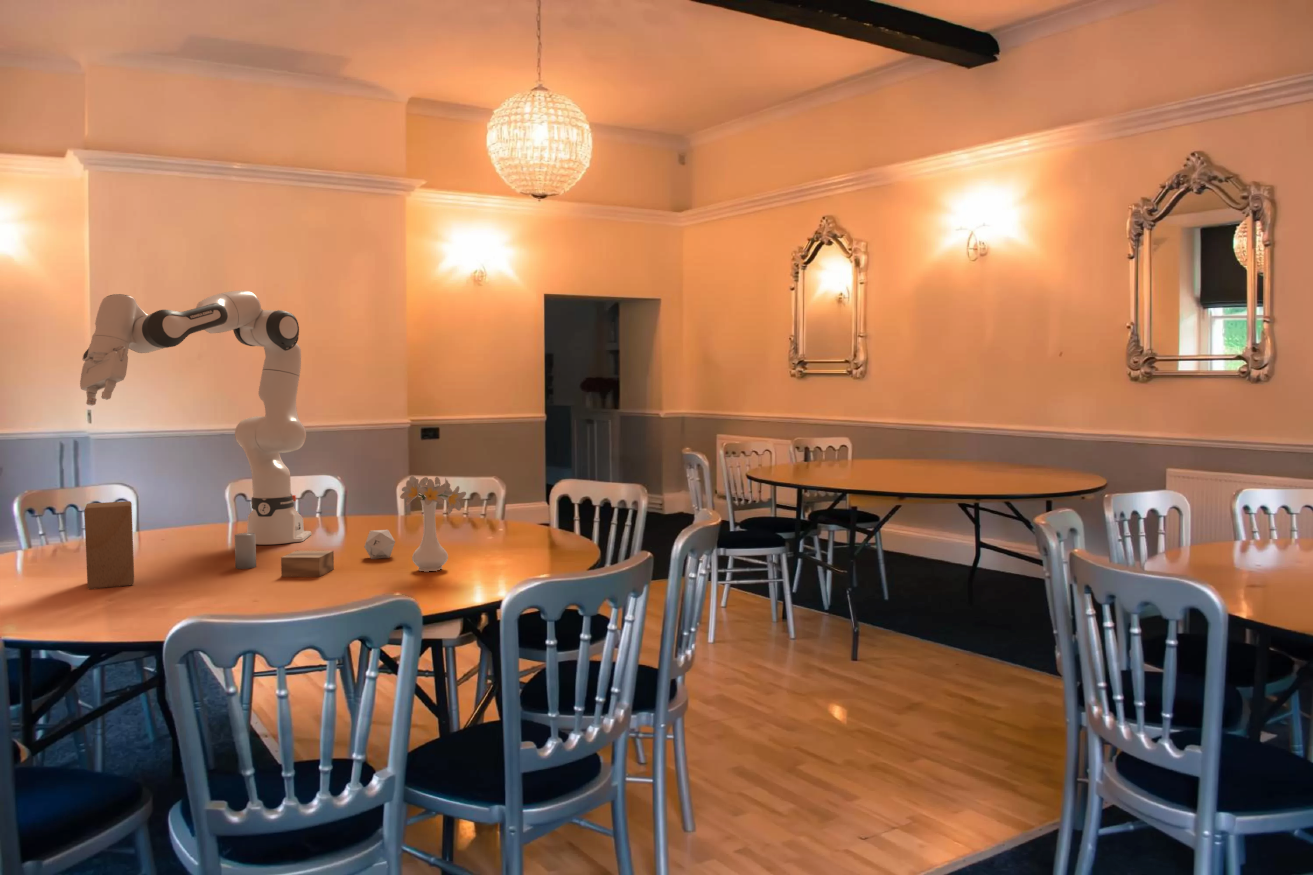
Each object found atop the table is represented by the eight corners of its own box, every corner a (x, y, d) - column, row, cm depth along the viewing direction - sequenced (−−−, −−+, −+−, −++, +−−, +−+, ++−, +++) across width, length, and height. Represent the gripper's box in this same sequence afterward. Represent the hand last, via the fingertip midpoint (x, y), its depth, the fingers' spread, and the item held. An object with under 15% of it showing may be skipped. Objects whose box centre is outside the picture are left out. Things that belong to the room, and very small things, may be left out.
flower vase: (452, 576, 254) (450, 480, 252) (389, 572, 259) (387, 478, 258) (475, 567, 266) (474, 475, 265) (415, 563, 272) (414, 473, 270)
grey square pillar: (240, 565, 270) (240, 532, 269) (259, 565, 270) (258, 532, 269) (232, 568, 265) (231, 535, 264) (251, 569, 264) (250, 535, 264)
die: (358, 559, 281) (359, 536, 275) (374, 541, 287) (375, 517, 281) (383, 570, 279) (385, 547, 274) (399, 551, 286) (401, 528, 280)
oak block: (297, 568, 264) (296, 550, 264) (333, 569, 264) (333, 550, 264) (281, 576, 254) (281, 557, 254) (319, 576, 254) (319, 557, 254)
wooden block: (87, 589, 239) (84, 508, 238) (89, 581, 248) (86, 503, 247) (133, 585, 244) (131, 505, 243) (134, 578, 253) (131, 500, 252)
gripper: (138, 347, 255) (128, 398, 251) (105, 362, 268) (94, 411, 264) (112, 340, 251) (102, 391, 247) (80, 355, 263) (69, 405, 260)
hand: (98, 401), depth 256 cm, fingers open, 8 cm apart
